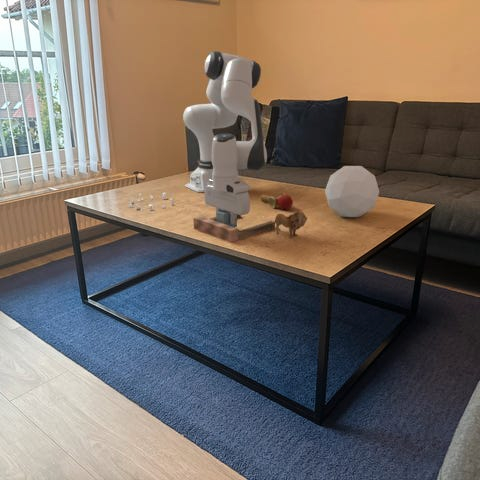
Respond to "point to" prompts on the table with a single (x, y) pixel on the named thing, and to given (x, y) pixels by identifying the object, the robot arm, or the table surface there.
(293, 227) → the lion figurine
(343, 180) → the geometric polyhedron
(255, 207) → the table surface
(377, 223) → the table surface
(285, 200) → the kendama
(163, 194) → the game piece set
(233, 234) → the stop channel
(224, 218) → the block
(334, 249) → the table surface
